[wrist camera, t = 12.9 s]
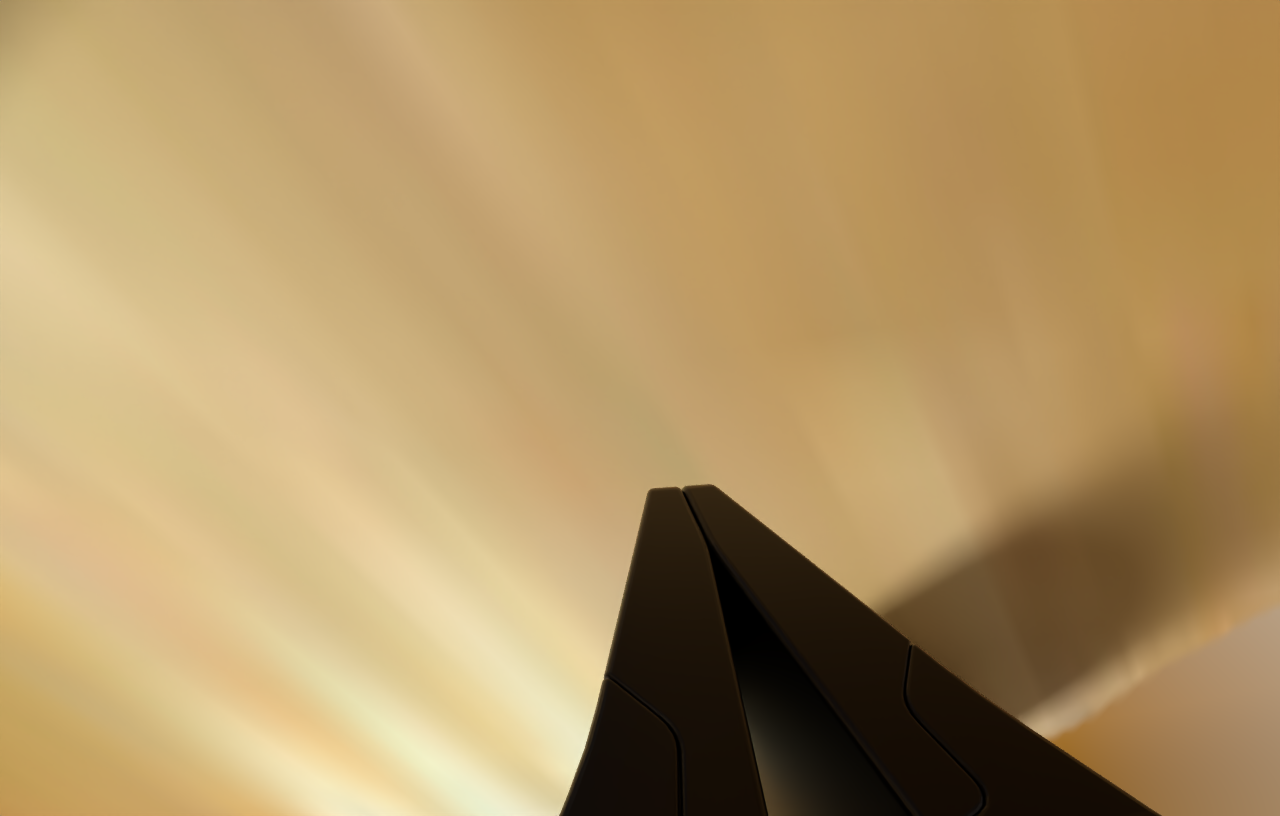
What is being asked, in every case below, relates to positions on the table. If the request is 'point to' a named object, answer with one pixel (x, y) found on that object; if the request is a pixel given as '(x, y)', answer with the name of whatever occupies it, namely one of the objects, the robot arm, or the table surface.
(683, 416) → the table surface
